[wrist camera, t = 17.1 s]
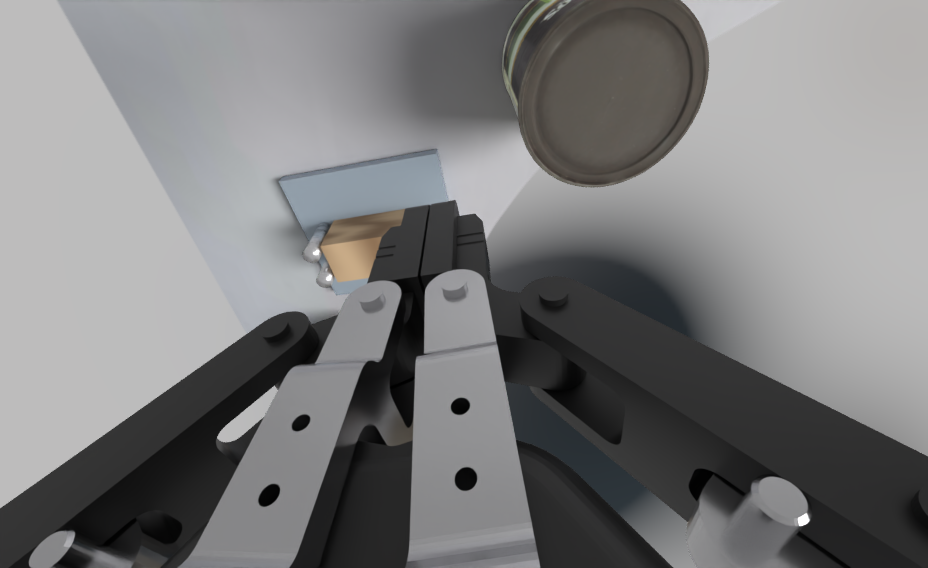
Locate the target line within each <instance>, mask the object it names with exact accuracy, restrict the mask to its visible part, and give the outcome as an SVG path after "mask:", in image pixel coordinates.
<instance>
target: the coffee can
mask: <svg viewBox="0 0 928 568" xmlns="http://www.w3.org/2000/svg"><path fill="white" fill-rule="evenodd" d="M708 68H709V52H708V47H707V41H706V38H705V35H704V31H703V29H702V27H701V25H700V23H699V21H698V20H697V18H696V17H695V15H694V14H693V13H692V11H691V10H690V9H689V8H688V7H687V6H686V5H685V4H684V3H683V2H682V1H681V0H531V1H529V2H528V3H527V4H526V5H525V6H524V8H523V9H522V10H521V11H520V12H519V14H518V15H517V17H516V18H515V20H514V22H513V23H512V25H511V27H510V29H509V31H508V34H507V37H506V40H505V44H504V48H503V55H502V73H503V79H504V83H505V86H506V89H507V91H508V93H509V95H510V97H511V100H512V103H513V106H514V109H515V112H516V114H517V117H518V120H519V126H520V131H521V135H522V138H523V140H524V143H525V145H526V148H527V150H528V151H529V153H530V155H531V156H532V158H533V159H534V161H535V162H536V163H537V164H538V165H539V166H540V167H541V168H542V169H543V170H545V171H546V172H547V173H548V174H549V175H551V176H553V177H554V178H556V179H558V180H560V181H562V182H565V183H567V184H571V185H575V186H581V187H604V186H609V185H614V184H618V183H621V182H624V181H626V180H629V179H631V178H633V177H636V176H638V175H640V174H641V173H643V172H645V171H646V170H648V169H649V168H651V167H652V166H654V165H655V164H656V163H658V162H659V161H660V160H661V159H663V158H664V157H665V156H666V155H667V154H668V153H669V152H670V151H671V150H672V149H673V148H674V147H675V146H676V144H677V143H678V142H679V141H680V140H681V138H682V137H683V136H684V135H685V133H686V132H687V130H688V129H689V127H690V125H691V124H692V122H693V120H694V118H695V117H696V114H697V113H698V111H699V108H700V105H701V103H702V100H703V97H704V93H705V89H706V85H707V79H708V71H709V69H708Z"/></svg>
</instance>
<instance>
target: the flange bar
mask: <svg viewBox="0 0 928 568" xmlns="http://www.w3.org/2000/svg"><path fill="white" fill-rule="evenodd" d="M404 211H405V209H401V210H395V211H389V212H383V213H377V214H371V215H364V216H358V217H352V218H346V219H340V220H334V221H333V223H332V225H331V227H330V229H329V231H328V233H327V234H326V236H325V238H324V240H323V242H322V244H321V246H320V247H321V249H322V251H323V253H324V255H325V257H326V259H327V261H328V263H329V265H330V267H331V269H332V271H333V274H334V276H335V278H336V280H337V282H345V281H352V280H358V279H365V278H369V276H370V272H371V269H372V266H373V263H374V260H375V259H376V253H377V250H379V249H378V247H379V244H380V241H381V238H382V236H383V235H384V234H385V233H386V232H387V231H388V230H389V229H390V228H391V227H395V226H401V223H402V219H403V215H404Z"/></svg>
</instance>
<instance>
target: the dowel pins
mask: <svg viewBox="0 0 928 568" xmlns="http://www.w3.org/2000/svg"><path fill="white" fill-rule="evenodd" d="M330 227H331V225H330V224H329V223H326V222H323V223H321V224H319V226H318V228H317V229H316V231H315V233H314V235H313V236H312V238H311V240H310V241H309V243H308V245H307V247H306V248H305V250H304V252H303V258H304V259H305V260H306V261H307V262H310V263H316V262H318V261H319V259H320V257H321V255H322V253H323V251H322V249H321V247H320V246H321V244H322V242H323V240H324V238H325V236H326V234H327V233H328V231H329V229H330ZM334 279H335V276H334V274H333V271H332V269H331V267H330V265H329V263H328V261H327V259H326V260H325V262H324V264H323V266H322V269H321V271H320V273H319V275H318V277H317V279H316V282H317V284H318V285H319V286H321V287H323V288H328V287H330V286H331V285H332V283H333V281H334Z"/></svg>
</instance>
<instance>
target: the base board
mask: <svg viewBox="0 0 928 568" xmlns="http://www.w3.org/2000/svg"><path fill="white" fill-rule="evenodd" d="M279 184H280V186H281V187H282V189H283V191H284V193H285V195H286V197H287V199H288V201H289V203H290V205H291V207H292V209H293V211H294V213H295V215H296V217H297V219H298V221H299V223H300V225H301V227H302V229H303V231H304V233H305V235H306V237H307V239H308V241H310V240H311V238H312V236H313V235H314V233H315V231H316V229H317V228H318V226H319V224H321V223H323V222H326V223H329V224H330V225H332V223H333V221H334V220H340V219H346V218H352V217H358V216H364V215H371V214H377V213H383V212H389V211H395V210H401V209H406V208H411V207H417V206H423V205H429V204H430V205H431V204H435V203H441V202H447V201H448V196H447V192H446V187H445V183H444V178H443V174H442V169H441V165H440V160H439V156H438V151H437V149H435V150H429V151H423V152H418V153H412V154H407V155H401V156H396V157H390V158H385V159H379V160H373V161H368V162H362V163H357V164H351V165H346V166H340V167H335V168H329V169H324V170H318V171H312V172H307V173H301V174H296V175H290V176H285V177H282V178H281V180H280V181H279ZM325 260H326V257H325V255H324V253H322V255H321V257H320V259H319V262H320V264H321V266H323V264H324V262H325ZM368 279H369V278H365V279H358V280H352V281H345V282H337V280H336V278H335V279H334V281H333V283H332V285H331V286H332V288H333V290H334V292H335V294H336V295H342V294H349V293H352V292H353V291H354V290H356V289H357V288H359V287H361V286H363V285H365V284H367V282H368Z"/></svg>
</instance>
